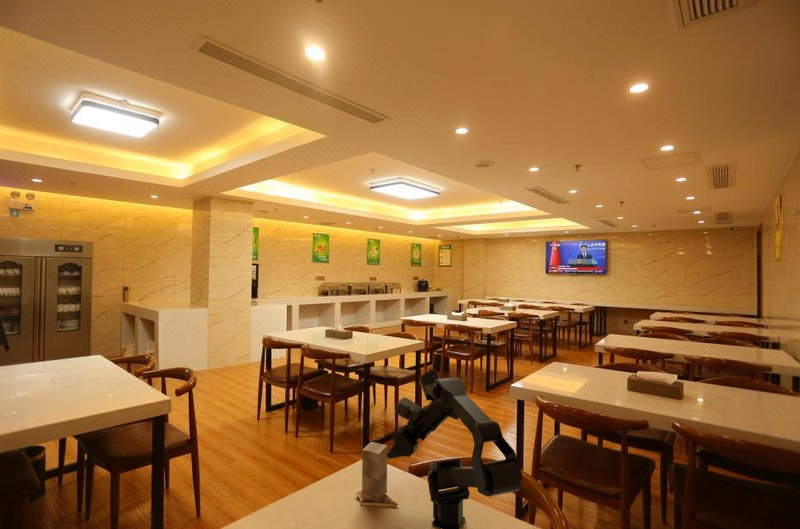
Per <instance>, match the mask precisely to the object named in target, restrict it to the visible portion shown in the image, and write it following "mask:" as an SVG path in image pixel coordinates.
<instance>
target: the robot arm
mask: <svg viewBox="0 0 800 529" xmlns="http://www.w3.org/2000/svg"><path fill="white" fill-rule="evenodd" d="M418 381H419V385H420V388H421V389H422V393H424V394H423V395H424V397H425V400H426V401H429V403H428V404H427V405H424V406H423V407H421V406H419V405H418V404H417V403H416V402H414V401H412V400H411V399H410V398H408V397H406V396H405V397H404V396H403V397H402V398H401V399H399V401H398V403H397V405H395V409H394V412H395V414H397V415H398V416H399V417H400V418H402V419H405V420H408V421H407V422H406V424H407V425H408V426H409V428H408V427H403V426H402V427H401V428H400V429H398V430H397V431H396V432H395V433H394V434H393V435H392V439H393V441H394V444H393V445H392V446H391V448H390V449H389V451H387V459H389V460H391V459H395V458H401V457H407V458H410V457H411V456H412V455H413V454H415V452H416V451H417V450H418V448H419V440H421V441H422V442H423V441H425V440H426V439H427V437H429V435H430V434H431V433H432V432H435V431H436V430H437V428H438V427H439V426H441V424H443V423H444V422H445V421H446V420H447V419H448V418H451V419H453V420H456V421H461V422H462V424H463V425H464V426H465V427H466V428H467V429H468V431H469V432H470V433H471V434H472V440H473V443H474V445H473V450H472V455H471V460H470V461H471V466H463V465H462V462H461V458H456V457H455V458H450V459H444V460H442V459H441V460H436V461H432V462H431V463H432V464H431V465H430V466H429V470H428V471H427V483H428V493H429V496H430V501H431V502H432V518H433V520H432V522H431V526H433V527H436V528H438V529H441V528H442V529H461V527H462V526H463V525H464V523H465V521H466V517H465V516H464V500H469V497H470V490H469V488H475V489H477V493H479V494H481V495H483V496H485V497H486V498H488V497H494V496H500V495H504V494H508V493H509V494H510V493H514V492H519V491H520V490H521V489H522V487H521V484H522V482H523V473H522V470H521V467H520V464H519V461H518V456H517V454H516V451H515V450H514V449H513V447H512V446H511V445H510V444H509V442H508V441H507V440H506V438H504V435H503V433H502V429H501V427H500V424H499V423H498V422H497V421H494V420H492V419H491V418H490V417H489V416H488V415H487V414H486V413H485V412H484V411H483V410H482V409H481V407H479V406H478V405H477V404H476V403H475V402H474V400H472V399H471V398H470V396H469V395H468V394H467V393H466V390H467V389H466V388H467V387H466V385H465V384H464V383H463V381H462V379H460V377H457V376H456V377H447V378H446V377H445V378H441V377H440V376H439V373H438V371H437V369H436V368H433V369H432V368H431V369H428V371H427V372H425V373H424V374H422V375H421V376H420V377H419V380H418ZM484 443H494V445H495V446H496V447H497V449H498V450H499V451H500V453H501V454H502V455H503V456H504V458H505V459H500V460H495V461H493V460H492V461H487V462H483V460H482V455H483V449H484V445H485V444H484Z"/></svg>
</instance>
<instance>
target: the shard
mask: <svg viewBox="0 0 800 529" xmlns="http://www.w3.org/2000/svg"><path fill="white" fill-rule="evenodd" d="M355 496H356V497H358V498H359V500H360V502H359V505H360V506H375V507H386V508H390V507H391V508H397V507H398V505H399V504H398V503H397V502H396V501H394V500H393V499H392V498H391V497H390V496H389V495H388V494H387V493H386V494H385V495H384V496H383V498H382V499H381V500H380V502H375V501H372V500H368V499H365V498H362V490H361V491H358V492H356V493H355Z"/></svg>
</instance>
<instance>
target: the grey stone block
mask: <svg viewBox="0 0 800 529" xmlns="http://www.w3.org/2000/svg"><path fill="white" fill-rule="evenodd" d="M361 450H362V452H361V454H362V457H361V458H362V459H361V462H362V464H361V465H362V466H361V468H362V469H361V470H362V471H361V491H362V498H365V499H368V500H372V501H375V502H380V500H381V499H382V498H383V496H384V495H385V494H386V495H387V492H388V457H387V454H388V445H387V444H382V443H378V442H374V441H373V442H372V441H370V442H369V443H368V444H367V445H366V446H365V447H364V448H362V449H361Z"/></svg>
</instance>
